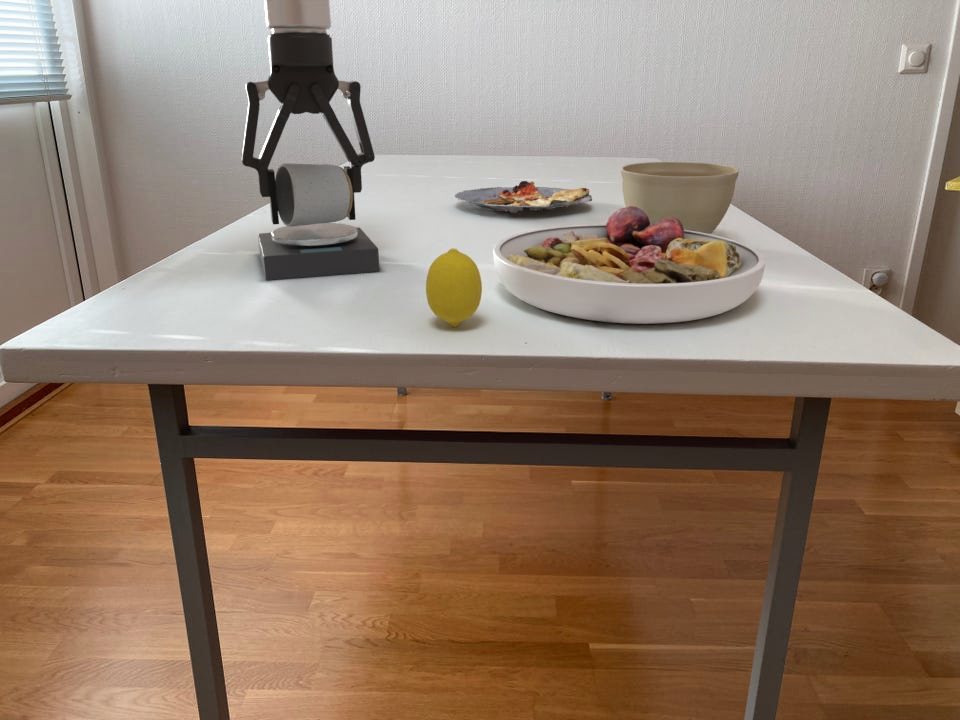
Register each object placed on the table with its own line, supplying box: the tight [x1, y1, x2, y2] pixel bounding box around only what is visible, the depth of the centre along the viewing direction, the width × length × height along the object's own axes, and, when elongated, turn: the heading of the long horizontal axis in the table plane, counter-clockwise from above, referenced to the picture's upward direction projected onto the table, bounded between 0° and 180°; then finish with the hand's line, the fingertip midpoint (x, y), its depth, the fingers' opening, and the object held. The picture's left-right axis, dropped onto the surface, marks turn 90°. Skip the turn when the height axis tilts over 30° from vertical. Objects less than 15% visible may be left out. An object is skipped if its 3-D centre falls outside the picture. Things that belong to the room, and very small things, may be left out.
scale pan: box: [271, 222, 358, 246], centre depth 102 cm, size 11×11×1 cm
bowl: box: [492, 206, 766, 325], centre depth 88 cm, size 30×30×8 cm
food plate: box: [454, 180, 593, 214], centre depth 142 cm, size 25×23×4 cm
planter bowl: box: [620, 161, 740, 234], centre depth 112 cm, size 16×16×11 cm
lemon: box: [425, 248, 483, 328], centre depth 77 cm, size 6×6×8 cm
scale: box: [257, 226, 380, 281], centre depth 102 cm, size 14×14×3 cm
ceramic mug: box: [275, 162, 353, 227], centre depth 100 cm, size 11×8×8 cm
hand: (313, 220), depth 101 cm, fingers closed on ceramic mug, 9 cm apart
